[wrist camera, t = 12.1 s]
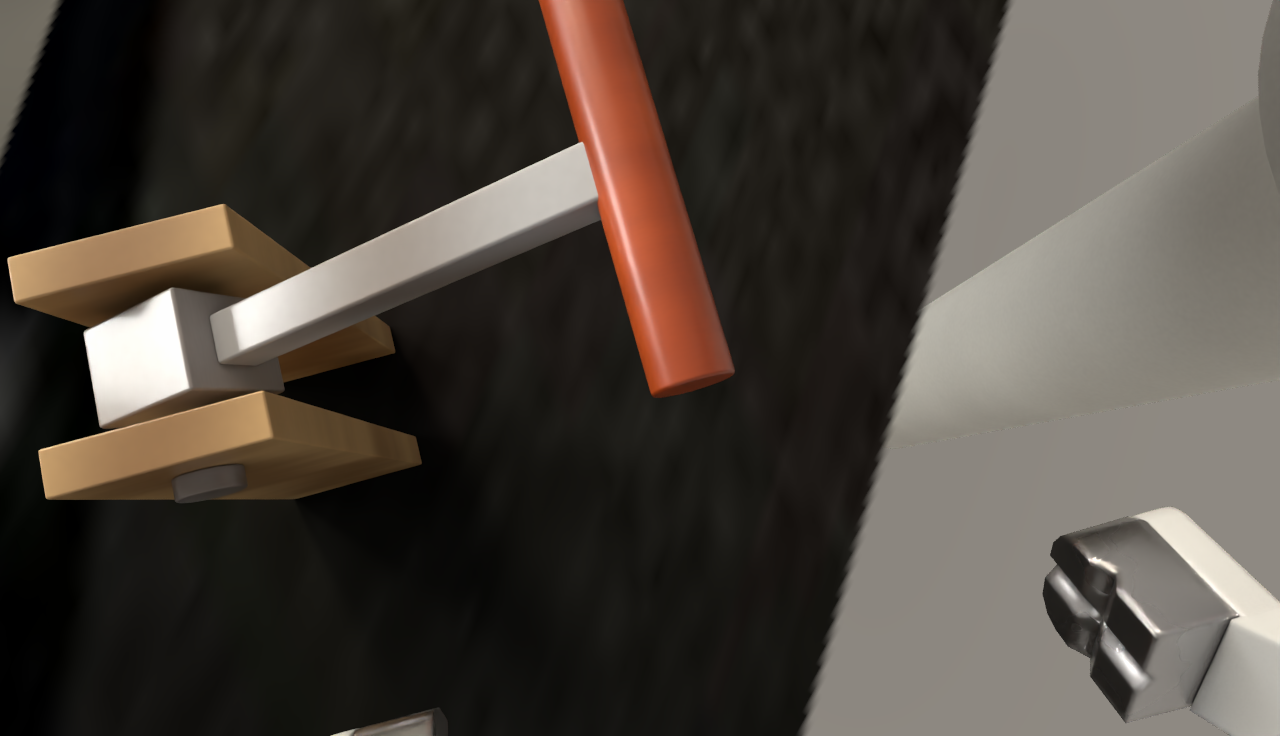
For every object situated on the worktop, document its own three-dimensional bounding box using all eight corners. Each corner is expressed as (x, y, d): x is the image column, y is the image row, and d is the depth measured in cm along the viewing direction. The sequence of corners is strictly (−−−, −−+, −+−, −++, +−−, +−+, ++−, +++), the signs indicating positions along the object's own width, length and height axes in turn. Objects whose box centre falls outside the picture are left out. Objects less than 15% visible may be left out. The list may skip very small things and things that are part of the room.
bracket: (491, 262, 30) (385, 70, 17) (550, 491, 29) (488, 485, 15) (177, 344, 30) (-202, 212, 16) (223, 583, 28) (-148, 663, 15)
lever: (630, -24, 15) (574, -97, 13) (752, 375, 14) (713, 370, 12) (161, 228, 20) (59, 205, 17) (223, 546, 18) (122, 566, 16)
